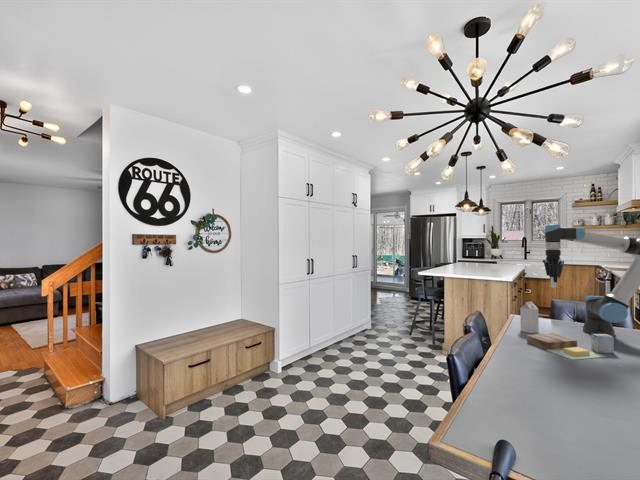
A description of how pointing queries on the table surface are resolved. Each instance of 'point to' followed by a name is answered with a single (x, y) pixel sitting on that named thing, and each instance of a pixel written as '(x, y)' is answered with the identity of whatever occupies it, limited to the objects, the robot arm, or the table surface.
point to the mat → (571, 357)
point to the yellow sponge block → (576, 351)
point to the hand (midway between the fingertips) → (553, 287)
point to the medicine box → (602, 343)
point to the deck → (551, 341)
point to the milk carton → (529, 318)
